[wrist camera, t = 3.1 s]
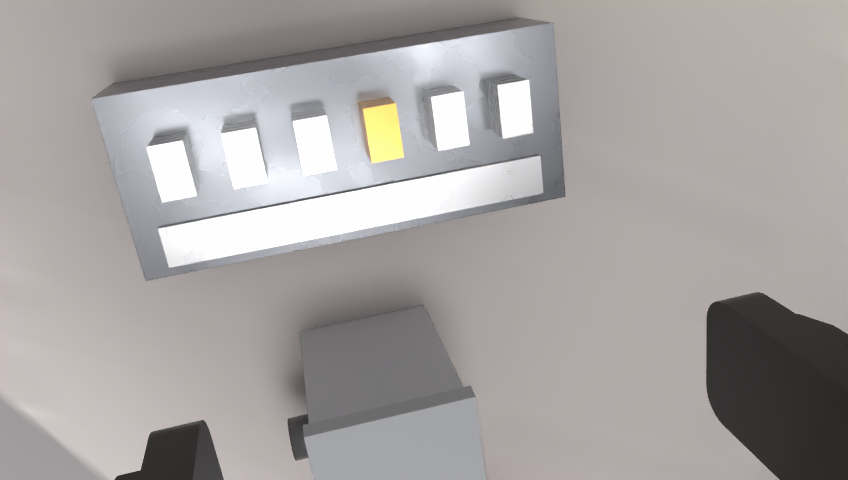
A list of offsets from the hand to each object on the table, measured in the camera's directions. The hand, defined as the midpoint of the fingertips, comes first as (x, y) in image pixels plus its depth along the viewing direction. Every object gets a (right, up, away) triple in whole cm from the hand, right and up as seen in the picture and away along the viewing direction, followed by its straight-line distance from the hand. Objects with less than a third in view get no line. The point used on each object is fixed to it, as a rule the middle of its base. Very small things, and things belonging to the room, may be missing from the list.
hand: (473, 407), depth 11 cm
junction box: (-3, -4, +25) cm, 25 cm away
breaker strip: (-4, +7, +20) cm, 22 cm away
